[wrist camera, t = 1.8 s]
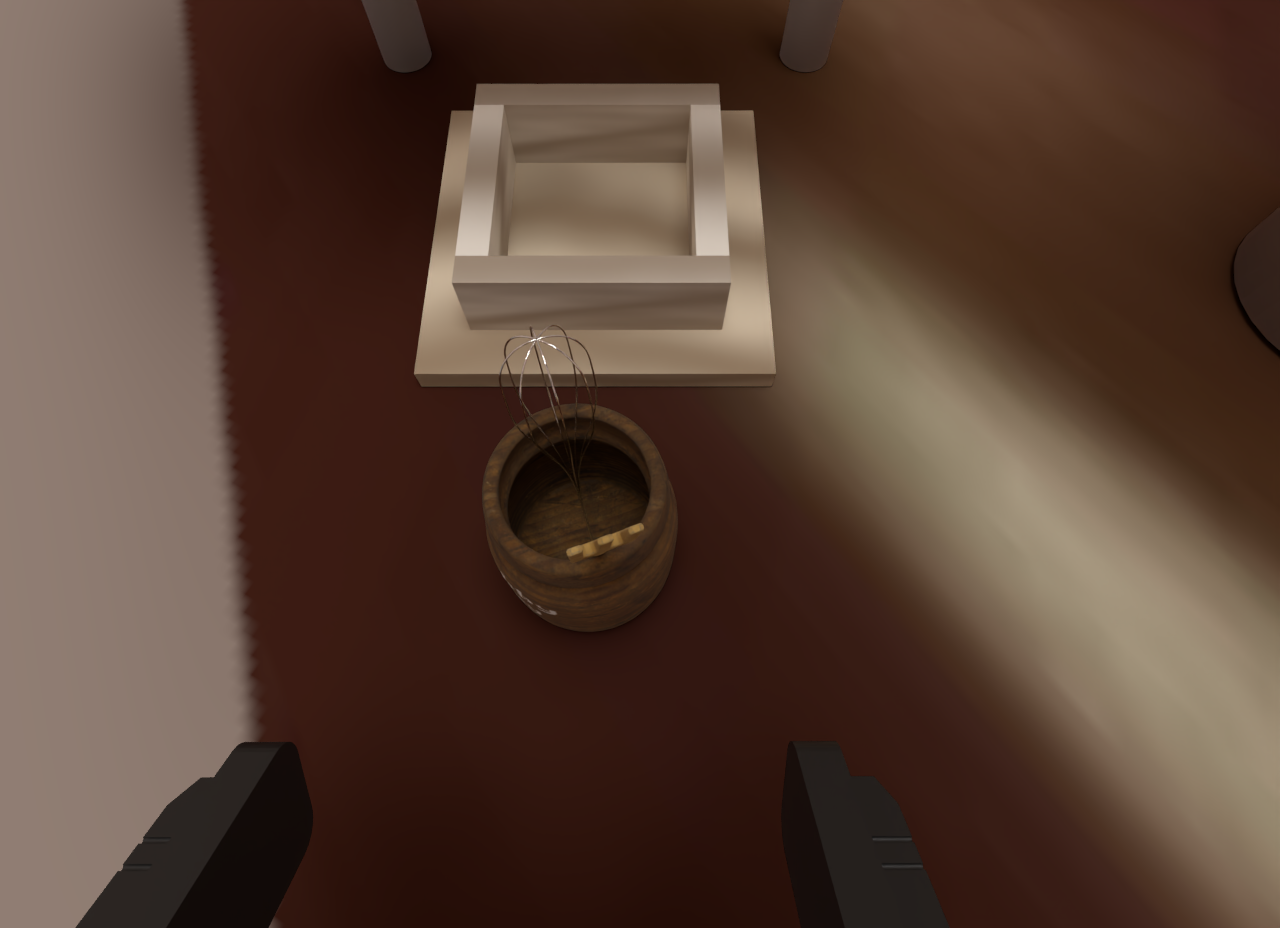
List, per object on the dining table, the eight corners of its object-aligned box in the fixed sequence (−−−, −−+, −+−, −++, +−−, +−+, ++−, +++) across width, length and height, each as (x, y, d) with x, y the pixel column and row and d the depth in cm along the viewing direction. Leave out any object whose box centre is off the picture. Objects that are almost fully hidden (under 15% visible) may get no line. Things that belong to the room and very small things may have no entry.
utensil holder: (638, 455, 27) (636, 243, 16) (701, 609, 24) (752, 489, 13) (489, 506, 26) (376, 322, 15) (540, 671, 24) (452, 598, 12)
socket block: (771, 386, 28) (791, 330, 24) (421, 386, 28) (388, 330, 24) (750, 128, 33) (763, 49, 29) (457, 128, 33) (434, 50, 29)
